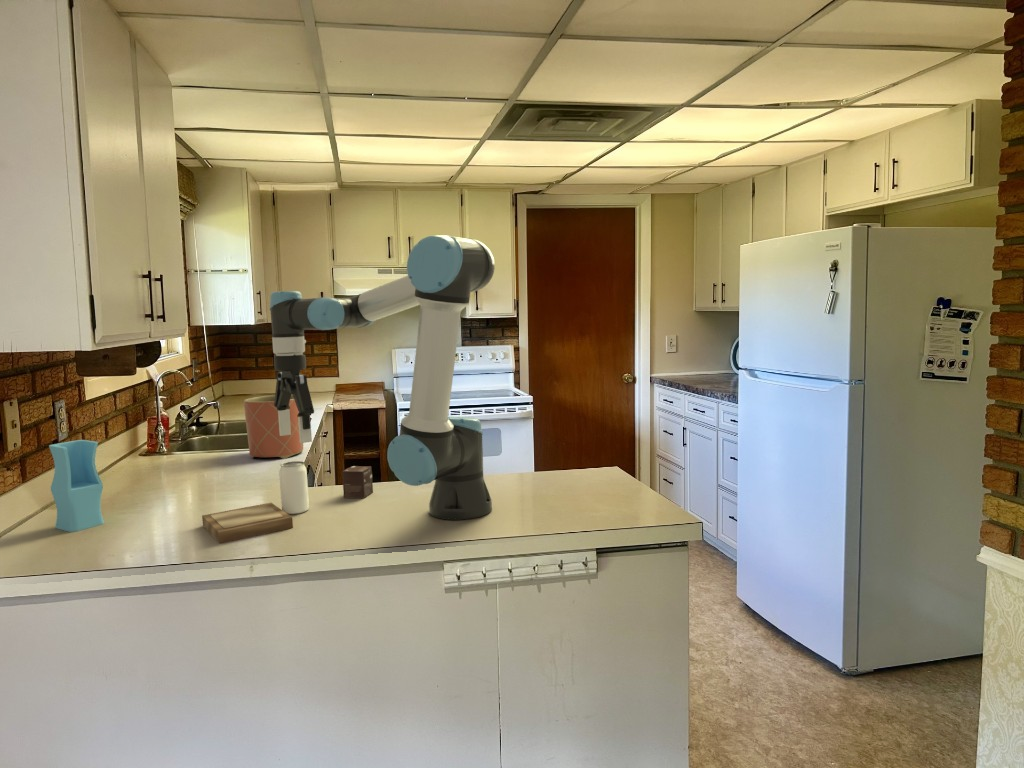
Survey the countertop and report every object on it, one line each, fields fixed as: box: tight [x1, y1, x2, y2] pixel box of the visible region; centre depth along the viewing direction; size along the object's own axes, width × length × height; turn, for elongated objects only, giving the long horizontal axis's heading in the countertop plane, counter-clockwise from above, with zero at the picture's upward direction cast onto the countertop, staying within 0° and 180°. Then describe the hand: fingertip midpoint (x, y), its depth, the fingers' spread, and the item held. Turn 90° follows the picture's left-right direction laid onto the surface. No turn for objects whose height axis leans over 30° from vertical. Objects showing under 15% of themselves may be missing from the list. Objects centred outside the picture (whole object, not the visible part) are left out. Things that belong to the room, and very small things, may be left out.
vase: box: [48, 439, 105, 533], centre depth 165 cm, size 8×8×20 cm
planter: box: [243, 394, 304, 460], centre depth 241 cm, size 19×19×20 cm
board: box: [201, 502, 294, 544], centre depth 161 cm, size 16×16×3 cm
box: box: [341, 465, 374, 499], centre depth 185 cm, size 6×6×7 cm
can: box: [278, 460, 310, 515], centre depth 172 cm, size 6×6×12 cm
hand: (295, 438), depth 174 cm, fingers open, 13 cm apart
